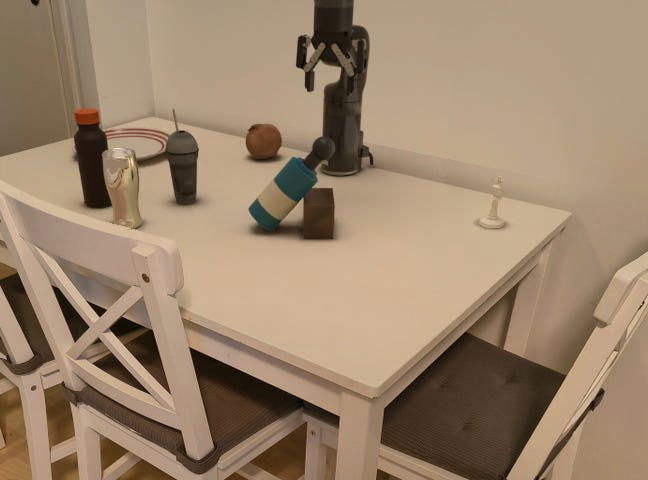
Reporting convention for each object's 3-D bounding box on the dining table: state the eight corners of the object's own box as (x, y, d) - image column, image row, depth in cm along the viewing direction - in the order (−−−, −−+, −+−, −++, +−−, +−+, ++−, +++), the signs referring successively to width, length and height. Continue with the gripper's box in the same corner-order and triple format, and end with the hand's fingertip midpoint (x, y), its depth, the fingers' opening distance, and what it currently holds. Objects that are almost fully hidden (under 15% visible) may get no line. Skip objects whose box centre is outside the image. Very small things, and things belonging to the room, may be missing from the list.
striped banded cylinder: (247, 235, 138) (245, 141, 128) (249, 222, 144) (248, 131, 133) (331, 236, 138) (336, 141, 127) (330, 223, 143) (334, 131, 133)
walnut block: (303, 238, 136) (303, 205, 133) (302, 219, 145) (303, 187, 141) (333, 239, 136) (334, 205, 132) (331, 220, 145) (332, 187, 141)
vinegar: (120, 204, 153) (107, 112, 142) (90, 210, 150) (75, 116, 139) (109, 195, 158) (96, 105, 147) (80, 201, 155) (65, 109, 144)
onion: (252, 171, 181) (234, 139, 175) (260, 152, 187) (243, 120, 181) (284, 161, 177) (267, 128, 170) (291, 142, 183) (275, 109, 176)
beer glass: (112, 218, 146) (102, 147, 138) (145, 217, 147) (137, 146, 138) (109, 231, 140) (98, 158, 132) (143, 230, 141) (134, 157, 133)
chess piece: (490, 230, 139) (499, 182, 134) (474, 222, 143) (481, 175, 138) (508, 225, 141) (518, 178, 136) (492, 217, 145) (500, 171, 139)
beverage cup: (196, 208, 151) (190, 114, 140) (165, 206, 152) (156, 112, 141) (206, 196, 157) (200, 106, 146) (175, 194, 158) (167, 104, 147)
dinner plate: (169, 169, 174) (167, 156, 172) (61, 169, 174) (59, 156, 172) (182, 138, 196) (181, 126, 195) (87, 139, 197) (85, 127, 195)
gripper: (376, 3, 130) (369, 93, 139) (307, 0, 136) (304, 86, 144) (362, 7, 125) (356, 100, 133) (291, 3, 130) (290, 93, 139)
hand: (329, 93), depth 139 cm, fingers open, 8 cm apart
